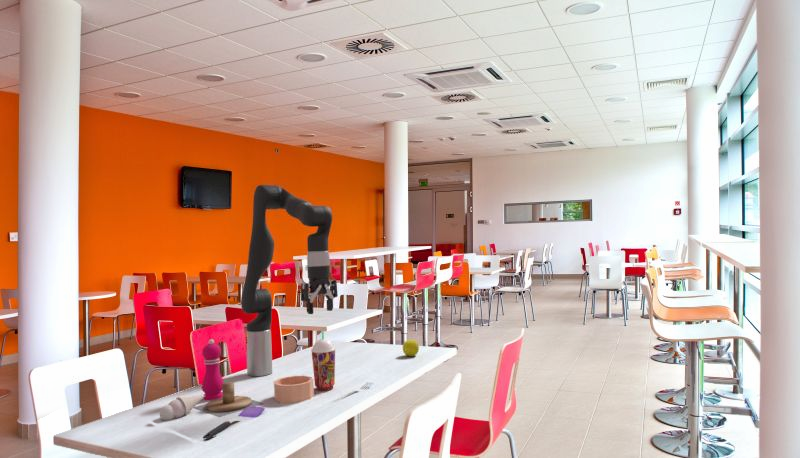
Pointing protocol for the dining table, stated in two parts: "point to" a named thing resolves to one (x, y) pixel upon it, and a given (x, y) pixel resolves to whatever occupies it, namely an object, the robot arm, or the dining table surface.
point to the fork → (353, 391)
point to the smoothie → (324, 364)
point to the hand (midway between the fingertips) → (320, 312)
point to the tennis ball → (410, 348)
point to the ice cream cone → (179, 407)
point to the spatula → (246, 412)
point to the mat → (219, 414)
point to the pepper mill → (212, 372)
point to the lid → (228, 400)
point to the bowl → (293, 389)
